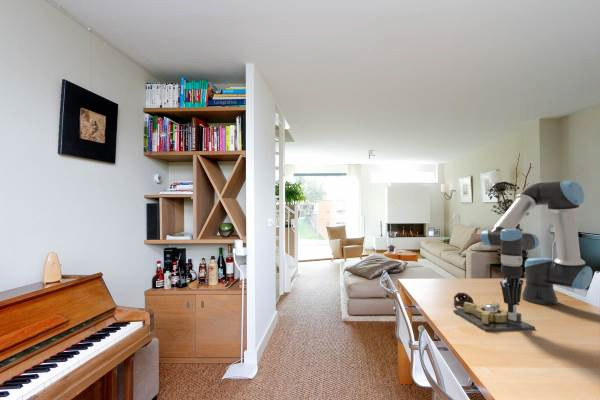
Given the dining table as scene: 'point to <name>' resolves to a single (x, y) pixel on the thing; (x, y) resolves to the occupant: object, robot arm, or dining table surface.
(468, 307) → the ring nut
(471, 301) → the pottery mug
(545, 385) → the dining table surface
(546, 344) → the dining table surface
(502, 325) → the flange plate
